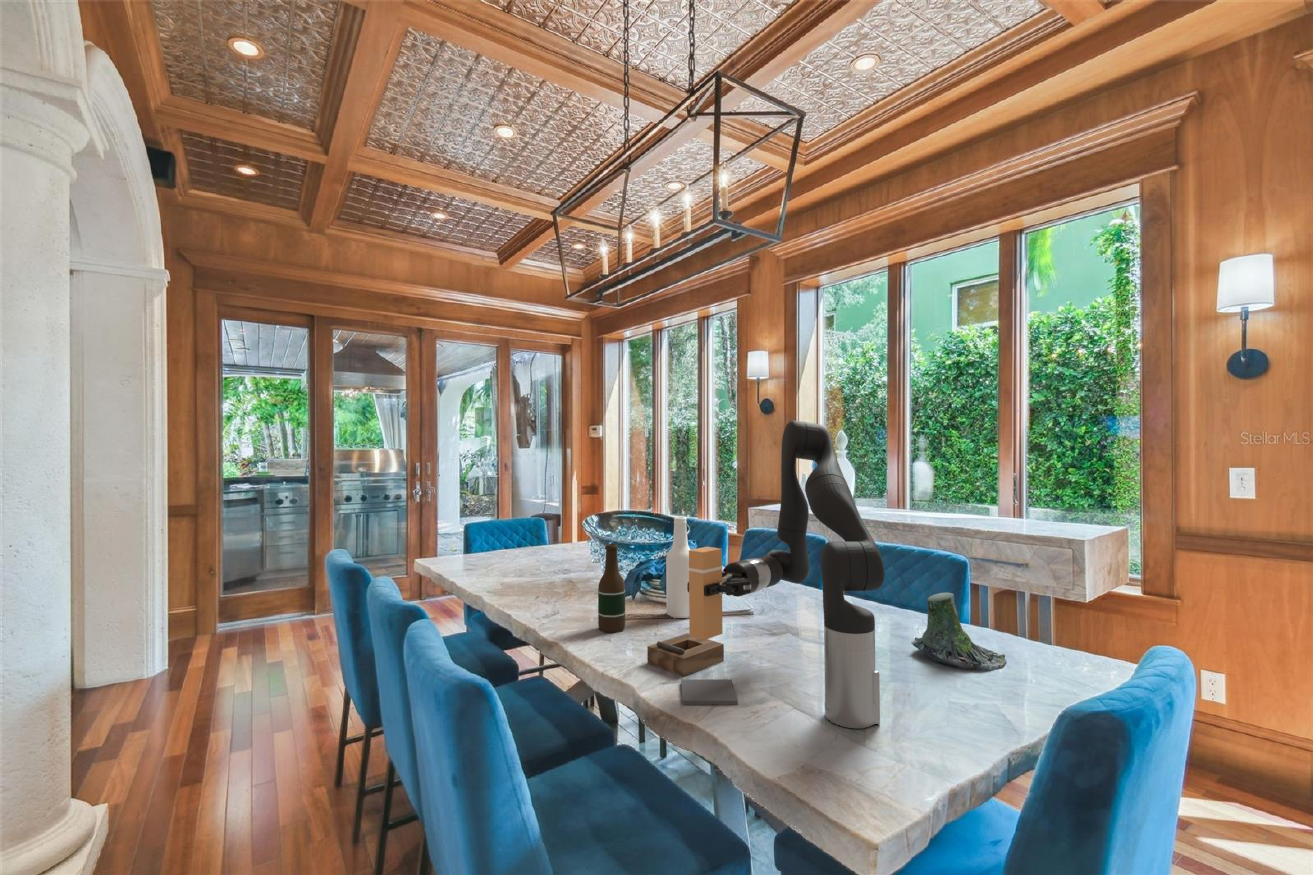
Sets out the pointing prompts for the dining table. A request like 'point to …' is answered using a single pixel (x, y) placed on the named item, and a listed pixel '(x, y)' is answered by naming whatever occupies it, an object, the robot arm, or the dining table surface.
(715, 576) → the striped orange pillar
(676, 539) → the alcohol
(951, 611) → the tree stump
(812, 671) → the dining table surface
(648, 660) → the brown socket base
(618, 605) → the beer bottle
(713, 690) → the pad
